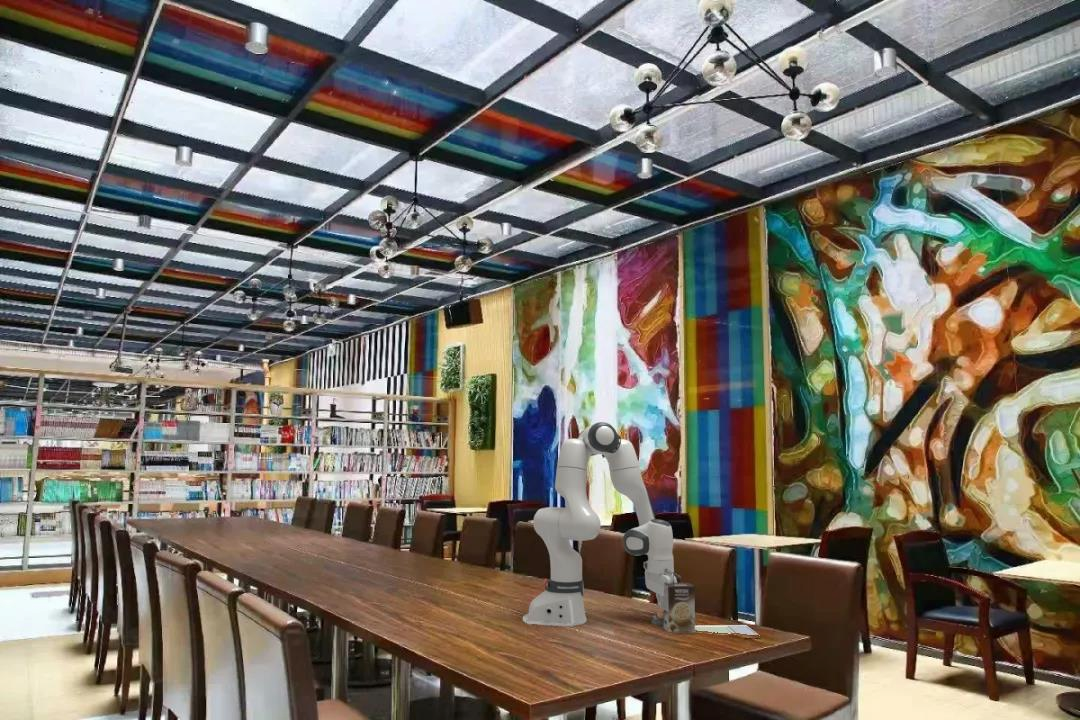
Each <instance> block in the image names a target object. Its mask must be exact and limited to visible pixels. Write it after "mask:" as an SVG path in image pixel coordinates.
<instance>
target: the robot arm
mask: <svg viewBox="0 0 1080 720" xmlns="http://www.w3.org/2000/svg"><path fill="white" fill-rule="evenodd" d="M597 455H603V456H604V457H605V459H606V461H607V463H608V469H609V474H610V475H609V476H610V480H611V484H612V485H613V488H614V489H615V490H616V491H617V492H618V493H619V494H621V495H624V496H625V497H627V498H629V500H630V501H631V502H632V503H633V507H634V509H635V513H636V516H637V520H638V525H639V526H637V527H633V528H631V529H628V530H627V531H625V533H623V536H622V546H623V549H625V552H627V554H629V555H632V556H643V555H647V560H646V561H644V562H643V568H644V569H645V571H644V578H645V581H644V582H645V586H646V589H647V590H650V591H652V592H654V593H655V596H656V597H655V598H656V599H657V606H658V607H659V608H661V609H664V583H668V584H669V583H672V584H674V583H677V580H676V577H675V576H674V575H673V573H675V569H674V568H675V567H674V566H675V565H674V564H675V563H674V560H675V559H674V554H673V548H674V536H673V535H674V534H673V529H672V525H671V524H670V522H668V521H666V520H663V519H657V518H656V516H655V512H654V509H653V506H652V502H651V499H650V496H649V492H648V490H647V487H646V485H645V483H644V480H643V477H642V473H641V469H640V463H639V459H638V456H637V454H636V449H635V447H634V445H633V444H632V442H631V441H630V440H627V439H625V438H624V439H622V437H621V436H620V435H619V434H618V432H617V430H616V428H614V427H613V425H612V424H610V423H608V422H605V421H602V422H601V421H599V422H596V423H593V424H590V425H589V426H587V427H585V428H584V429H583V430H581V432H580V433H579V435H578V436H577V438H568V439H565V440H564V441H563V442H562V444H561V448H560V450H559V454H558V457H557V458H558V459H557V465H556V471H555V474H556V475H555V482H554V488H555V491H556V492H557V493H558V495H559V496H561V497H563V498H564V502H565V507H560V506H559V507H557V506H549V507H542V508H540V509H538V510H537V511H536V513H535V514H534V516H533V523H532V524H533V529H534V531H535V532H536V534H537V535H538V536H540V538H541V539H542V540H543V542H544V544H545V546H546V548H547V551H548V554H549V561H550V564H549V565H550V578H549V579H548V578H544V579H543V585H544V591H543V592H541V593H539V594H538V595H537V596H536V597H534V599H532V601H531V602H530V604H529V607H528V613H526V614H524V615H523V616H522V622H523V623H524V622H525V624H526V623H527V624H526V625H532V624H537V625H536V626H551V625H552V627H553V626H556V627H573V626H578V625H583V624H585V623H587V622H588V620H587V616H586V612H585V606H584V598H583V597H584V593H585V591H584V590H585V589H584V586H585V585H584V584H585V583H584V579H583V559H582V556H581V554H580V553H579V552H578V551H576V550H575V549H574V548H573V546H572V545H571V543H570V541H576V542H577V541H579V542H581V541H582V542H584V541H591V540H594V539H595V538H596V537H598V535H599V533H600V530H601V520H600V517H599V515H598V513H596V512H595V510H594V509H593V508H592V507H591V505H590V503H589V500H588V495H587V476H588V463H589V459H590V457H593V456H597Z"/></svg>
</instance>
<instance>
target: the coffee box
mask: <svg viewBox="0 0 1080 720" xmlns="http://www.w3.org/2000/svg"><path fill="white" fill-rule="evenodd" d="M695 588H696V587H695V585H693V584H691V583H690V582H680V583H674V584H672V583H669V584H668V583H664V608H663V612H664V626H663V629H664V630H665V632H668V633H675V634H695V633H696V631H695V625H696V622H695V621H696V620H695V619H696V613H695V611H696V608H695V607H696V605H695V604H696V603H695V596H696V590H695Z"/></svg>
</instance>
